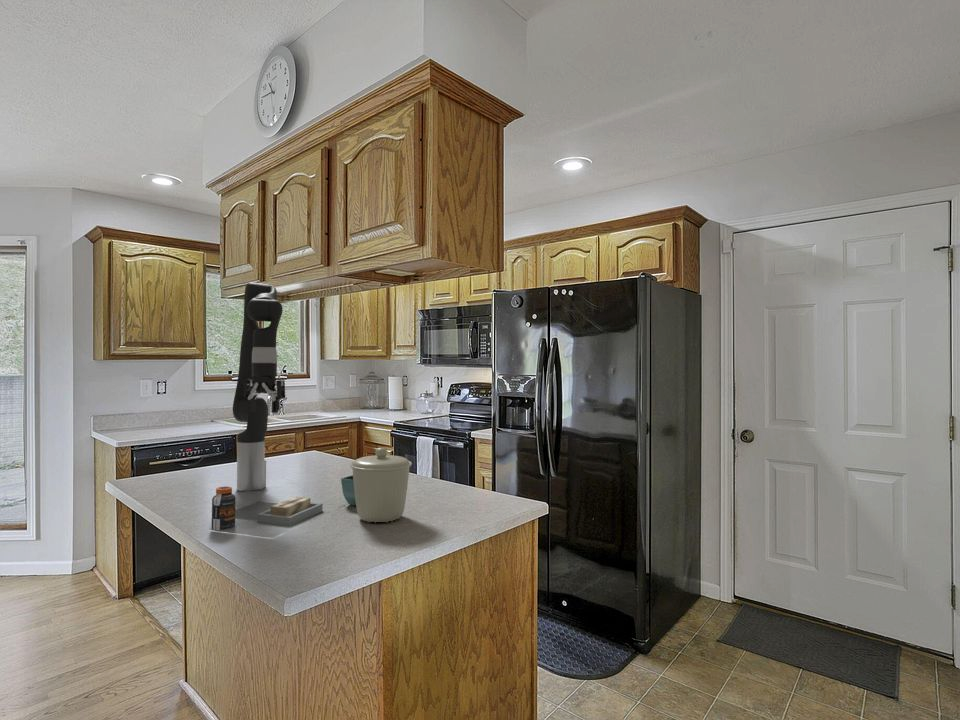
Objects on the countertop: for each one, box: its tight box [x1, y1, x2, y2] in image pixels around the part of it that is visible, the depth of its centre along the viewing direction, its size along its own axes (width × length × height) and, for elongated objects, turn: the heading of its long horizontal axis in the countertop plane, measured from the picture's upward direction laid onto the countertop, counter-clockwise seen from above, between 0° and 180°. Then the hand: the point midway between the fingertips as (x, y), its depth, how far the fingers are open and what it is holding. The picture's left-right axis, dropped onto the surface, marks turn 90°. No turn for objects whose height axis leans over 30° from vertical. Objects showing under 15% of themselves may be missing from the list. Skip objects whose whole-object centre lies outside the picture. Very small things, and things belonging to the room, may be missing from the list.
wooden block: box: [271, 496, 311, 516], centre depth 164 cm, size 12×5×4 cm, turn 162°
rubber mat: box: [235, 500, 278, 522], centre depth 170 cm, size 18×14×1 cm
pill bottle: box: [211, 485, 236, 532], centre depth 153 cm, size 6×6×11 cm
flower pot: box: [340, 474, 356, 506], centre depth 179 cm, size 9×9×9 cm
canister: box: [349, 447, 413, 524], centre depth 164 cm, size 18×18×21 cm
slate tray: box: [256, 502, 323, 527], centre depth 164 cm, size 16×11×3 cm
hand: (263, 412), depth 176 cm, fingers open, 8 cm apart
